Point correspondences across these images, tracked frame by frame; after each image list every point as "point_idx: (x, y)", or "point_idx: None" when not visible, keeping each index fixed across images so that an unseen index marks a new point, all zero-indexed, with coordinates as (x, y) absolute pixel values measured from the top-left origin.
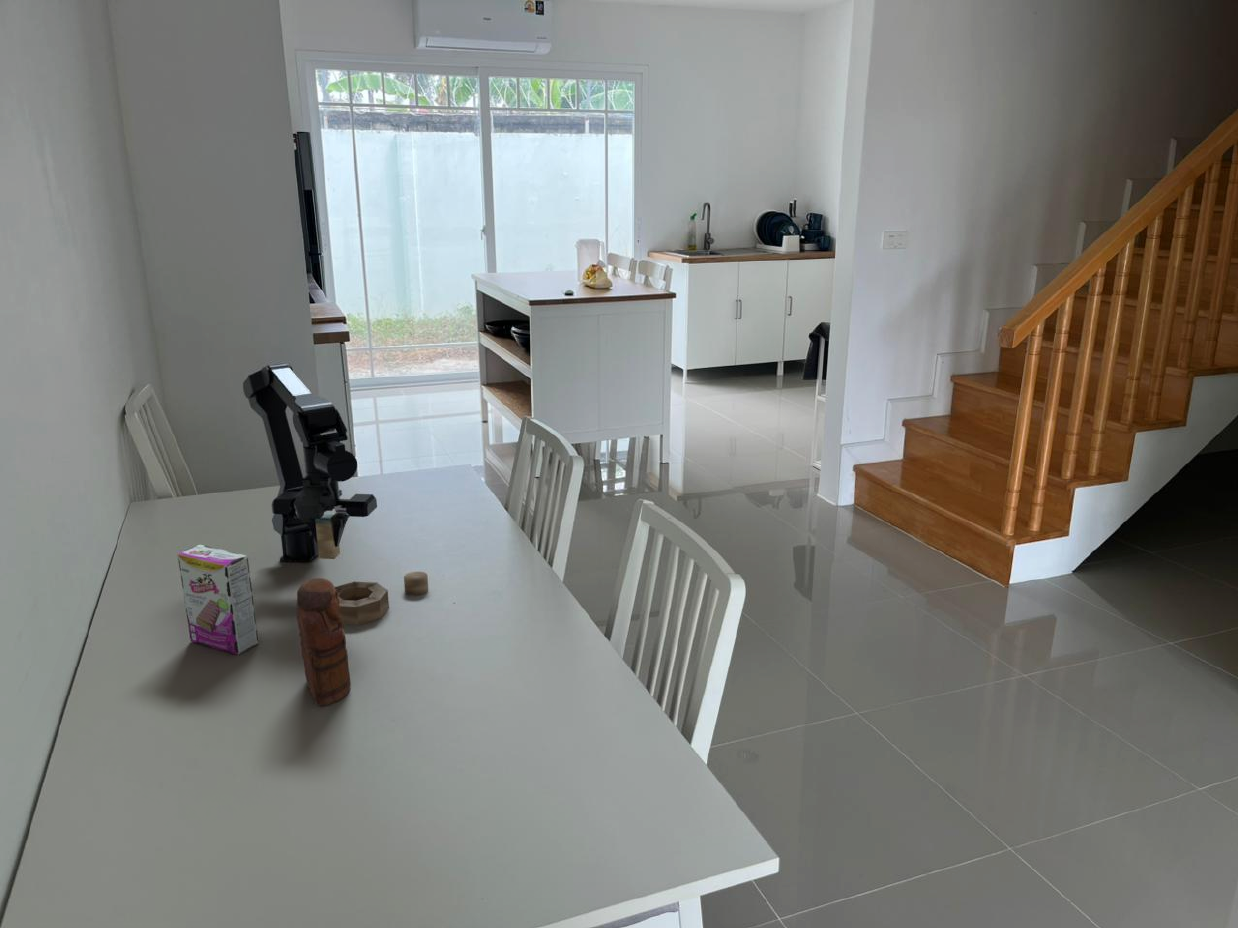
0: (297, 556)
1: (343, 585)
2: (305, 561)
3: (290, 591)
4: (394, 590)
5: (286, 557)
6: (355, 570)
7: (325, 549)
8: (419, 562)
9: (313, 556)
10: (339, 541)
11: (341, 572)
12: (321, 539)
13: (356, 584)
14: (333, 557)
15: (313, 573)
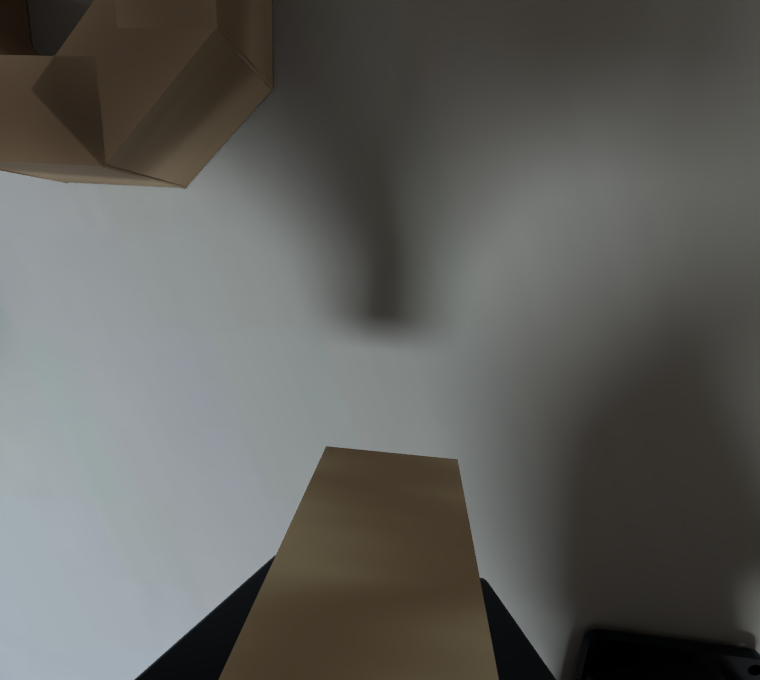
0: (669, 670)
1: (150, 79)
2: (609, 632)
3: (594, 272)
4: (41, 302)
5: (730, 676)
6: None
7: (386, 507)
8: (69, 599)
9: (579, 677)
10: None
11: None
12: (421, 615)
13: (68, 111)
14: (327, 453)
15: (526, 503)
